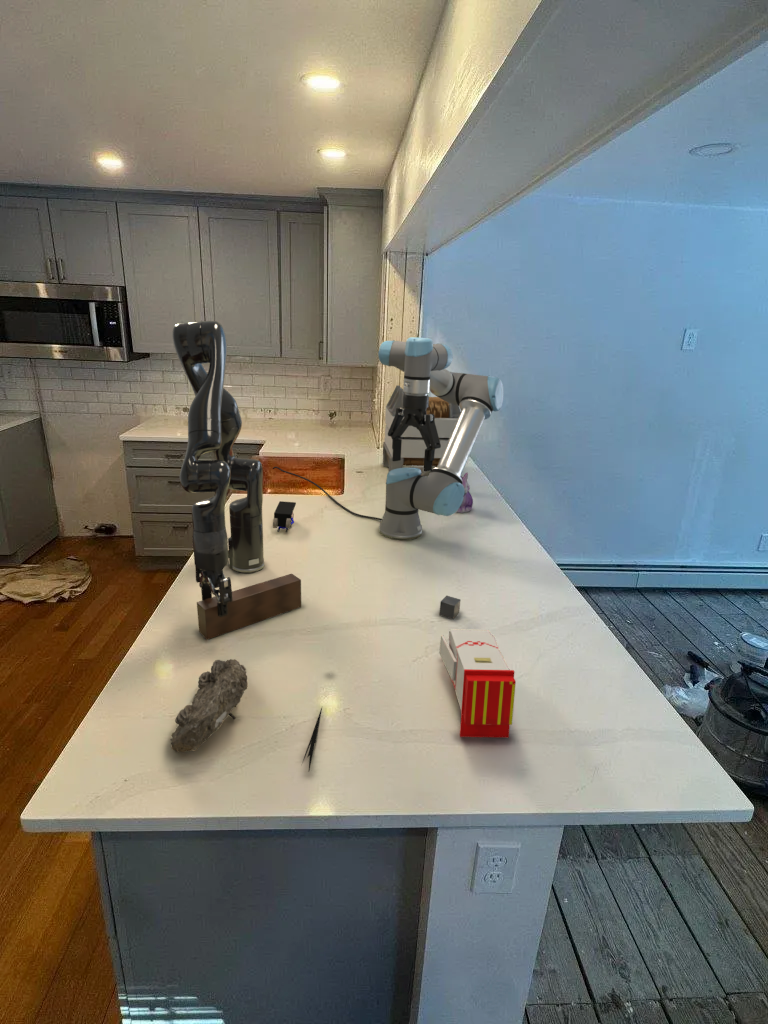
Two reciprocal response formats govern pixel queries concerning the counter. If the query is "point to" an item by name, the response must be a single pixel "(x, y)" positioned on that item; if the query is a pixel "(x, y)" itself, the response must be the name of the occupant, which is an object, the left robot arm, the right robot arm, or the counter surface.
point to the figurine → (466, 496)
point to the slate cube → (449, 607)
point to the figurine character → (284, 515)
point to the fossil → (210, 704)
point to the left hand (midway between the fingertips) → (214, 608)
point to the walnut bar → (250, 605)
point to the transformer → (418, 432)
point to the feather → (313, 740)
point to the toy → (479, 682)
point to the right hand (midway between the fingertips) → (411, 465)
